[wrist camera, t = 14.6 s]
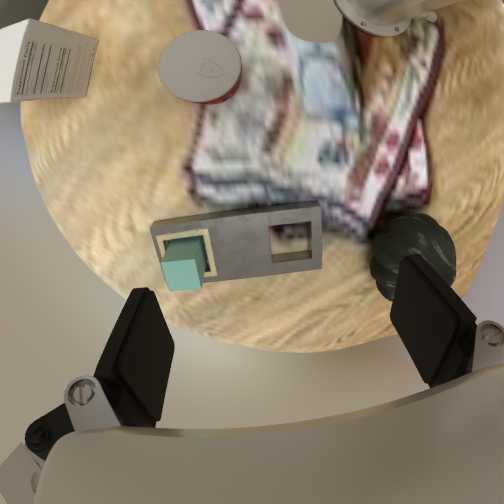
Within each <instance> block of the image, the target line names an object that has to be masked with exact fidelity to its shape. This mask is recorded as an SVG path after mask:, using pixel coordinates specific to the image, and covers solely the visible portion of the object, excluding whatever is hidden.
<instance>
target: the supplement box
mask: <svg viewBox="0 0 504 504" xmlns="http://www.w3.org/2000/svg"><path fill="white" fill-rule="evenodd" d="M97 44H98V40H96V39H93V38H90V37H87V36H85V35H82V34H79V33H76V32H73V31H69V30H66V29H63V28H60V27H57V26H54V25H51V24H48V23H44V22H40V21H37V20H33V19H27V20H24V21H21V22H18V23H16V24H13V25H10V26H7V27H5V28H2V29H0V104H4V103H12V102H21V101H29V100H39V99H48V98H62V97H85V96H86V92H87V87H88V82H89V77H90V72H91V68H92V63H93V59H94V55H95V52H96V48H97Z"/></svg>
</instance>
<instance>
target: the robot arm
mask: <svg viewBox="0 0 504 504" xmlns="http://www.w3.org/2000/svg"><path fill="white" fill-rule="evenodd" d="M462 1H465V0H334V3H335V5H336V7H337V8H338V10H339V11H340V13H341V14H342V15H343V16H344V17H345V18H346V19H347V20H348V21H349V22H350V23H351V24H353V25H354V26H355V27H357V28H358V29H360V30H362V31H364V32H366V33H368V34H371V35H374V36H379V37H392V36H395V35H398V34H400V33H402V32H404V31H405V30H406V29H407V28H408V26H409V24H410V22H411V19H413V18H416V19H419V18H423V19H426V20H429V21H432V22H435V21H436V20H437V15H436V13H435V12H434V11H433V10H436V9H439V8H442V7H445V6H449V5H452V4H455V3H459V2H462ZM502 2H503V3H504V0H502ZM361 24H362V25H361ZM390 319H391V322H392V324H393V325H394V327H395V329H396V331H397V332H398V334H399V336H400V338H401V339H402V341H403V343H404V345H405V347H406V349H407V351H408V352H409V354H410V356H411V358H412V360H413V362H414V364H415V366H416V368H417V370H418V372H419V374H420V376H421V378H422V380H423V381H424V382H425V383H428V385H429V387H430V389H428V390H425V391H422V392H419V393H416V394H413V395H410V396H407V397H404V398H401V399H398V400H395V401H391V402H388V403H384V404H381V405H377V406H373V407H369V408H366V409H361V410H357V411H353V412H349V413H344V414H339V415H335V416H330V417H324V418H319V419H313V420H307V421H301V422H294V423H286V424H278V425H269V426H259V427H246V428H227V429H166V428H163V429H162V428H155V426H156V421H160V419H161V414H162V409H163V404H164V398H165V393H166V388H167V383H168V378H169V373H170V368H171V363H172V359H173V354H174V341H173V339H172V336H171V334H170V332H169V329H168V326H167V324H166V321H165V319H164V316H163V314H162V311H161V309H160V306H159V303H158V301H157V298H156V295H155V293H154V291H150V290H149V288H147V287H145V288H134V289H133V290H132V291H131V293H130V295H129V297H128V299H127V301H126V303H125V305H124V307H123V309H122V311H121V313H120V316H119V318H118V320H117V322H116V324H115V326H114V328H113V330H112V333H111V335H110V337H109V339H108V342H107V344H106V346H105V349H104V351H103V353H102V355H101V358H100V360H99V362H98V365H97V367H96V370H95V373H94V376H89V375H84V376H80V377H77V378H75V379H74V380H73V381H71V382H70V383H69V384H68V386H67V388H66V390H65V393H64V401H65V403H63V404H62V405H60V406H59V407H57V408H55V409H54V410H52V411H50V412H49V413H48V414H46V415H44V416H42V417H41V418H39V419H37V420H36V421H34V422H33V423H32V424H30V426H29V427H28V429H27V431H26V433H25V444H23V443H21V444H20V445H19V446H18V447H17V448H16V449H15V450H14V451H13V452H12V453H11V454H10V456H9V457H8V458H7V459H6V460H5V461H4V462H3V463H2V465H0V492H1V493H2V495H3V497H4V499H5V500H6V502H7V504H504V328H503V327H502V326H501V325H500V324H498V323H496V322H494V321H489V320H487V321H483V322H481V323H479V325H478V326H477V325H476V323H475V321H476V319H477V318H476V317H475V315H474V314H473V313H472V312H471V310H470V309H469V308H468V307H467V306H466V304H465V303H464V302H463V301H462V300H461V298H460V297H459V296H458V295H457V294H456V293H455V292H454V290H453V289H452V288H451V287H450V286H449V285H448V284H447V283H446V281H445V280H444V279H443V278H442V277H441V276H440V275H439V274H438V273H437V272H436V271H435V270H434V268H433V267H432V266H431V265H430V264H429V263H428V262H427V261H426V260H425V259H424V258H423V257H422V256H421V255H420V254H412V255H406V256H405V257H404V259H403V260H401V262H400V267H399V272H398V278H397V283H396V288H395V293H394V298H393V303H392V307H391V312H390Z"/></svg>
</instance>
